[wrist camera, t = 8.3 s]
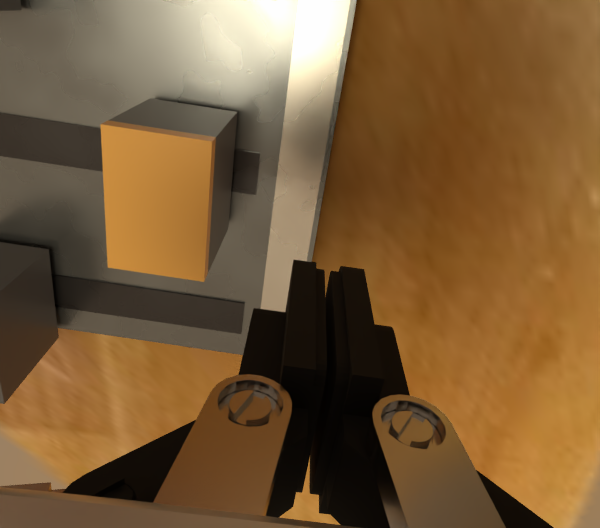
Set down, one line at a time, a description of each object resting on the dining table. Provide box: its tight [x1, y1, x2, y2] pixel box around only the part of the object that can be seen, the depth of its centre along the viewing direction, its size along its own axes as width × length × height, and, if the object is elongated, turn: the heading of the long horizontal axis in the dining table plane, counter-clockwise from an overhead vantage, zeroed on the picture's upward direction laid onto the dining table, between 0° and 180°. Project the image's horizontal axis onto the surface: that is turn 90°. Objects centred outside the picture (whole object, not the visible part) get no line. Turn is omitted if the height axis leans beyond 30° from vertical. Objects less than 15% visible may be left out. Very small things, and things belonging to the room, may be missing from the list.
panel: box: [0, 0, 357, 355], centre depth 19 cm, size 16×17×2 cm
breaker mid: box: [100, 98, 237, 282], centre depth 16 cm, size 3×4×4 cm
